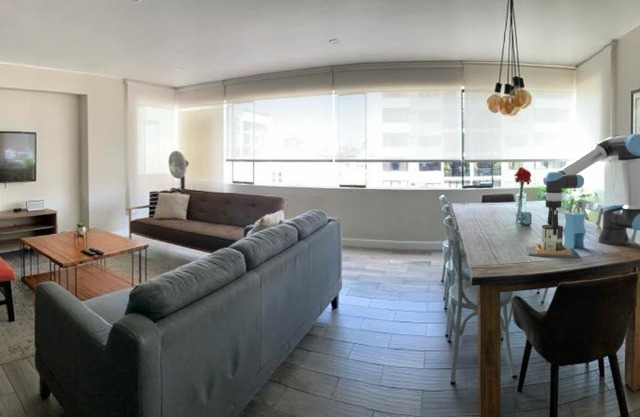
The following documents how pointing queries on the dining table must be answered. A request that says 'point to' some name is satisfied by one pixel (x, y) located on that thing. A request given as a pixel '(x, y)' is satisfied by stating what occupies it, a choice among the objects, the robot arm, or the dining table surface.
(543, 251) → the collar plate
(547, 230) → the coffee can
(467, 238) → the dining table surface
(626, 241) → the robot arm
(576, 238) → the open-sided blue scoop
